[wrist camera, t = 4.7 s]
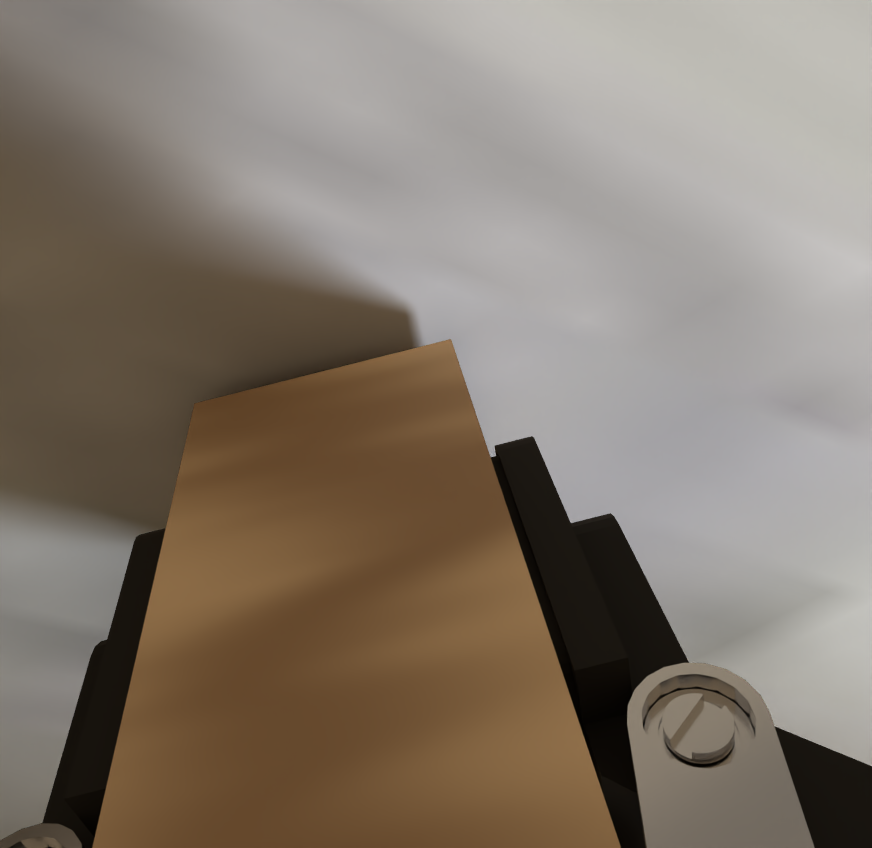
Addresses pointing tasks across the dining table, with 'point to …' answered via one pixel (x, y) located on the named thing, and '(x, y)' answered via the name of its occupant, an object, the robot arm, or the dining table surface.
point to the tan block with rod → (347, 636)
